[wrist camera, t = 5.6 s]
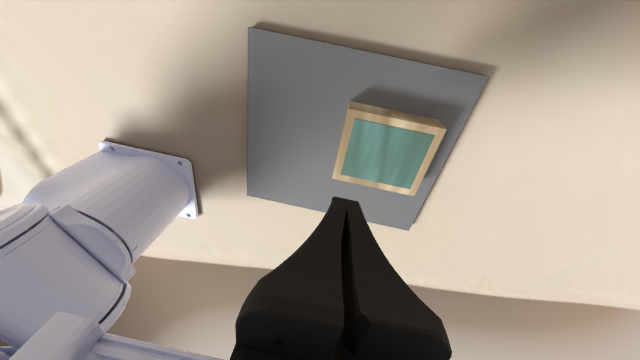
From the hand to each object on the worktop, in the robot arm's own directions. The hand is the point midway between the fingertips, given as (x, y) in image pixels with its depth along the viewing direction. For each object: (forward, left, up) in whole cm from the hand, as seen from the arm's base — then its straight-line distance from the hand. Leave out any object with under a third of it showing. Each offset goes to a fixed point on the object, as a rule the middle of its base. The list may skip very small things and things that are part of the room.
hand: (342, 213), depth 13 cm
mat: (0, -1, -10) cm, 10 cm away
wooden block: (-1, 0, -9) cm, 9 cm away
